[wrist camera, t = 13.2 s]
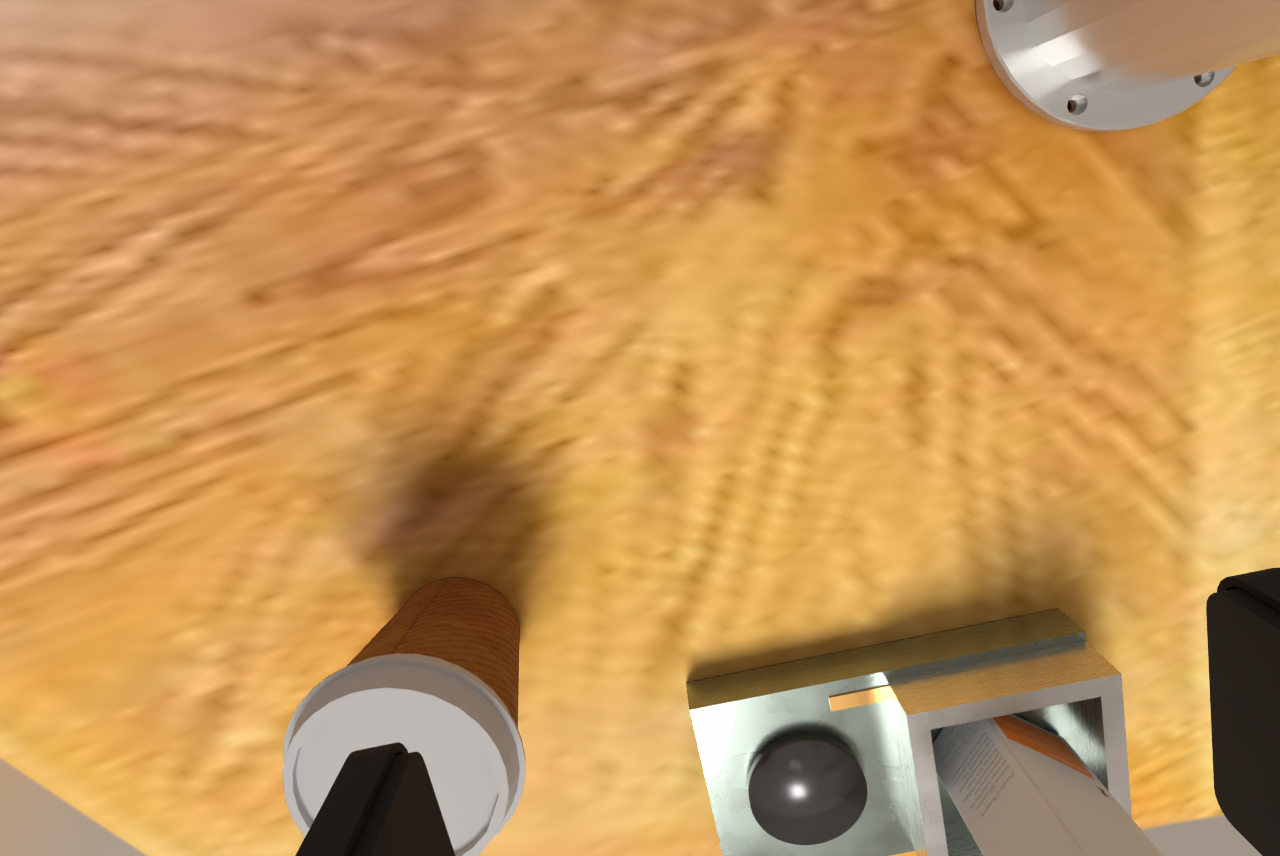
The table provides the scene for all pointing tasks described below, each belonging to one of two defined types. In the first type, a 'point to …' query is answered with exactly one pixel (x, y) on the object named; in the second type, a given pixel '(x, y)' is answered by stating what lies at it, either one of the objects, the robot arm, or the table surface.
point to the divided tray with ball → (892, 735)
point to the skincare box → (1031, 793)
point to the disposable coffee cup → (424, 710)
